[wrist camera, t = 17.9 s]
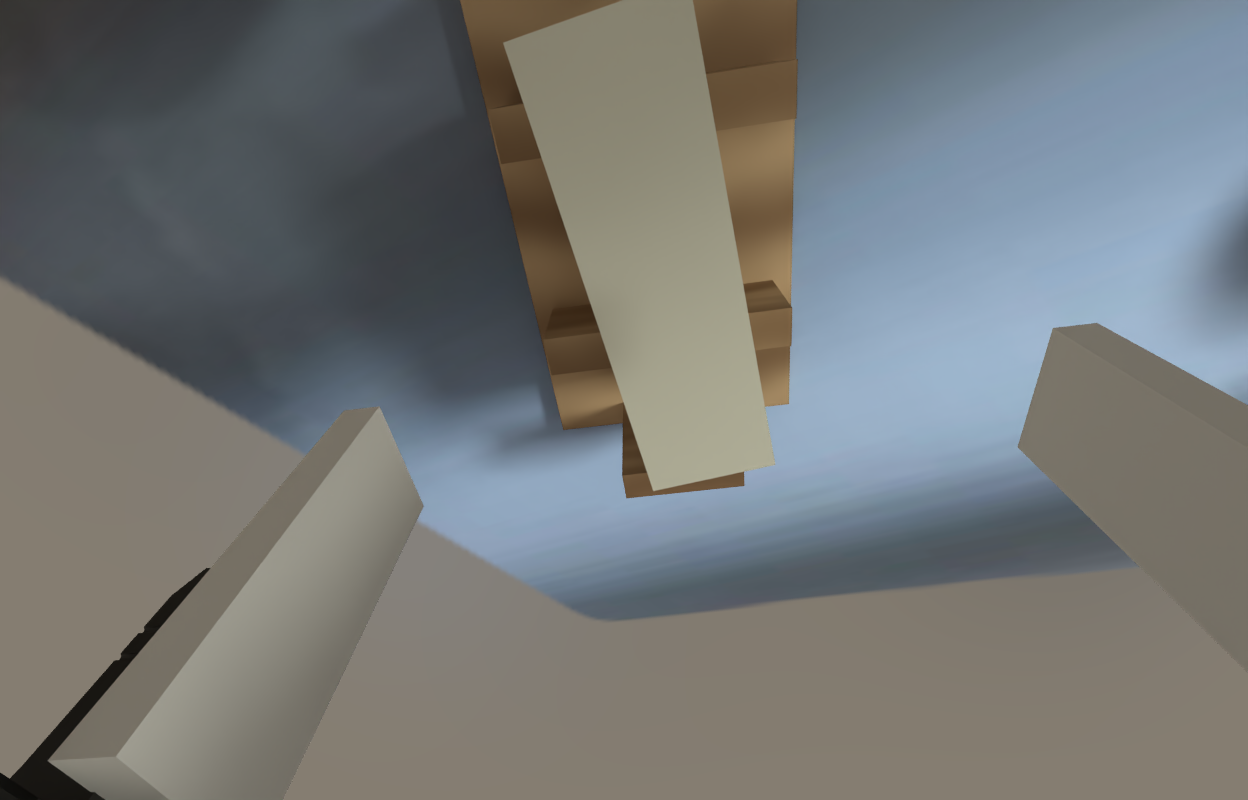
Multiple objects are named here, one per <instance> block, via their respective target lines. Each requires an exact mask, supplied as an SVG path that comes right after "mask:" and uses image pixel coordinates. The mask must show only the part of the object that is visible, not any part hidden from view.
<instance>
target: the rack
mask: <svg viewBox="0 0 1248 800" xmlns="http://www.w3.org/2000/svg"><path fill="white" fill-rule="evenodd" d="M619 1H622V0H460V2H461V6H462V10H463V14H464V19H465V23H466V27H467V31H468V35H469V39H470V44H471V48H472V52H473V56H474V60H475V64H476V69H477V73H478V77H479V81H480V85H481V89H482V93H483V98H484V102H485V106H486V110H487V114H488V118H489V123H490V127H491V131H492V135H493V139H494V143H495V147H496V152H497V156H498V160H499V164H500V168H501V172H502V177H503V181H504V185H505V189H506V193H507V197H508V201H509V206H510V210H511V214H512V218H513V222H514V226H515V231H516V235H517V239H518V243H519V247H520V251H521V255H522V260H523V264H524V268H525V272H526V276H527V280H528V285H529V289H530V293H531V297H532V301H533V305H534V309H535V314H536V318H537V322H538V326H539V330H540V334H541V339H542V343H543V347H544V351H545V355H546V359H547V364H548V368H549V372H550V376H551V380H552V384H553V388H554V393H555V397H556V401H557V405H558V409H559V413H560V418H561V422H562V426H563V430H567V429H576V428H585V427H593V426H602V425H610V424H619V423H623V464H622V476H623V482H624V487H625V493H626V498H634V497H643V496H653V495H662V494H672V493H681V492H691V491H700V490H710V489H719V488H729V487H738V486H744V472H740V473H735V474H730V475H726V476H721V477H716V478H712V479H707V480H703V481H698V482H693V483H689V484H684V485H679V486H675V487H670V488H665V489H661V490H656V491H653V488H652V486H651V483H650V480H649V477H648V474H647V471H646V468H645V465H644V462H643V459H642V456H641V453H640V450H639V447H638V444H637V441H636V438H635V435H634V432H633V429H632V426H631V423H630V420H629V417H628V414H627V411H626V408H625V405H624V402H623V399H622V396H621V393H620V390H619V387H618V384H617V381H616V378H615V375H614V372H613V369H612V366H611V363H610V360H609V357H608V354H607V351H606V348H605V345H604V342H603V339H602V336H601V333H600V330H599V327H598V325H597V322H596V319H595V316H594V313H593V310H592V307H591V304H590V301H589V298H588V295H587V292H586V289H585V286H584V283H583V280H582V277H581V274H580V271H579V268H578V265H577V262H576V259H575V256H574V253H573V250H572V247H571V244H570V241H569V238H568V235H567V232H566V229H565V226H564V223H563V220H562V217H561V214H560V211H559V208H558V205H557V202H556V199H555V196H554V193H553V190H552V187H551V184H550V181H549V178H548V175H547V172H546V169H545V166H544V164H543V161H542V158H541V155H540V152H539V149H538V146H537V143H536V140H535V137H534V134H533V131H532V128H531V125H530V122H529V119H528V116H527V113H526V110H525V107H524V104H523V101H522V98H521V95H520V92H519V89H518V86H517V83H516V80H515V77H514V74H513V71H512V68H511V65H510V62H509V59H508V56H507V53H506V50H505V47H504V44H503V43H504V42H506V41H509V40H512V39H515V38H518V37H521V36H523V35H526V34H529V33H532V32H535V31H537V30H540V29H543V28H546V27H549V26H552V25H554V24H557V23H560V22H563V21H566V20H568V19H571V18H574V17H577V16H580V15H583V14H585V13H588V12H591V11H594V10H597V9H599V8H602V7H605V6H608V5H611V4H613V3H616V2H619ZM693 4H694V10H695V16H696V21H697V27H698V33H699V38H700V44H701V50H702V55H703V61H704V66H705V72H706V78H707V83H708V89H709V95H710V100H711V106H712V112H713V117H714V123H715V128H716V134H717V140H718V145H719V151H720V157H721V162H722V168H723V174H724V179H725V185H726V190H727V196H728V202H729V207H730V213H731V219H732V224H733V230H734V236H735V241H736V247H737V252H738V258H739V264H740V269H741V275H742V281H743V286H744V292H745V298H746V303H747V309H748V314H749V320H750V326H751V331H752V337H753V343H754V348H755V354H756V359H757V365H758V371H759V376H760V382H761V388H762V393H763V399H764V405H765V407H766V406H775V405H783V404H789V370H790V346H791V339H792V307H791V272H792V223H793V174H794V125H795V119H796V110H797V64H798V59H796V27H797V0H693Z"/></svg>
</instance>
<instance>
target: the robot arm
mask: <svg viewBox="0 0 1248 800" xmlns="http://www.w3.org/2000/svg"><path fill="white" fill-rule="evenodd" d="M1018 448H1019V449H1020V450H1021V451H1022V452H1023V453H1024V454H1025V455H1026V456H1027V457H1028V458H1029V459H1030V460H1031V461H1032V462H1033V463H1034V464H1035V465H1036V466H1037V467H1038V468H1039V469H1040V470H1041V471H1042V472H1044V473H1045V474H1046V475H1047V476H1048V477H1049V478H1050V479H1051V480H1052V481H1053V482H1054V483H1055V484H1056V485H1057V486H1058V487H1059V488H1060V489H1061V490H1062V491H1063V492H1064V493H1065V494H1066V495H1067V496H1068V497H1069V498H1070V499H1071V500H1072V501H1073V502H1074V503H1075V504H1076V505H1077V506H1078V507H1079V508H1080V509H1081V510H1082V511H1083V512H1084V513H1085V514H1086V515H1087V516H1088V517H1089V518H1090V519H1091V520H1092V521H1093V522H1094V523H1096V524H1097V525H1098V526H1099V527H1100V528H1101V529H1102V530H1103V531H1104V532H1105V533H1106V534H1107V535H1108V536H1109V537H1110V538H1111V539H1112V540H1113V541H1114V542H1115V543H1116V544H1117V545H1118V546H1119V547H1120V548H1121V549H1122V550H1123V551H1124V552H1125V553H1126V554H1127V555H1128V556H1129V557H1130V558H1131V559H1132V560H1133V561H1134V562H1135V563H1136V564H1137V565H1138V566H1139V567H1140V568H1141V569H1142V570H1143V571H1144V572H1145V573H1147V574H1148V575H1149V576H1150V577H1151V578H1152V579H1153V580H1154V581H1155V582H1156V583H1157V584H1158V585H1159V586H1160V587H1161V588H1162V589H1163V590H1164V591H1165V592H1166V593H1167V594H1168V595H1169V596H1170V597H1171V598H1172V599H1173V600H1174V601H1175V602H1176V603H1177V604H1178V605H1179V606H1180V607H1181V608H1182V609H1183V610H1184V611H1185V612H1186V613H1187V614H1188V615H1189V616H1190V617H1191V618H1192V619H1194V620H1195V622H1197V624H1199V626H1201V627H1202V628H1203V629H1204V630H1205V631H1206V632H1207V633H1208V634H1209V635H1210V636H1211V637H1212V638H1213V639H1214V640H1215V641H1216V642H1217V643H1218V644H1219V645H1220V646H1221V647H1222V648H1223V649H1224V650H1225V651H1226V652H1227V653H1228V654H1229V655H1230V656H1231V657H1232V658H1233V659H1234V660H1235V661H1236V662H1237V663H1238V664H1239V665H1240V666H1241V667H1242V668H1244V670H1245V671H1246V672H1247V673H1248V405H1246V404H1244V403H1243V402H1241V401H1239V400H1237V399H1235V398H1233V397H1232V396H1230V395H1228V394H1226V393H1224V392H1222V391H1221V390H1219V389H1217V388H1215V387H1213V386H1211V385H1210V384H1208V383H1206V382H1204V381H1202V380H1200V379H1199V378H1197V377H1195V376H1193V375H1191V374H1189V373H1188V372H1186V371H1184V370H1182V369H1180V368H1178V367H1177V366H1175V365H1173V364H1171V363H1169V362H1167V361H1166V360H1164V359H1162V358H1160V357H1158V356H1156V355H1155V354H1153V353H1151V352H1149V351H1147V350H1145V349H1144V348H1142V347H1140V346H1138V345H1136V344H1134V343H1133V342H1131V341H1129V340H1127V339H1125V338H1123V337H1122V336H1120V335H1118V334H1116V333H1114V332H1112V331H1111V330H1109V329H1107V328H1105V327H1103V326H1101V325H1100V324H1098V323H1093V324H1084V325H1076V326H1067V327H1059V328H1053V330H1052V333H1051V336H1050V340H1049V343H1048V347H1047V350H1046V353H1045V357H1044V360H1043V363H1042V367H1041V370H1040V374H1039V377H1038V380H1037V384H1036V387H1035V390H1034V394H1033V397H1032V400H1031V404H1030V407H1029V411H1028V414H1027V417H1026V421H1025V424H1024V427H1023V431H1022V434H1021V438H1020V441H1019V444H1018ZM422 508H423V503H422V501H421V499H420V497H419V494H418V492H417V490H416V488H415V485H414V483H413V481H412V479H411V476H410V474H409V472H408V470H407V467H406V465H405V463H404V461H403V458H402V456H401V454H400V452H399V450H398V447H397V445H396V443H395V441H394V438H393V436H392V434H391V432H390V429H389V427H388V425H387V423H386V420H385V418H384V416H383V414H382V411H381V409H380V407H371V408H362V409H354V410H345V411H343V413H342V414H341V415H340V416H339V417H338V419H337V420H336V421H335V422H334V423H333V424H332V426H331V427H330V428H329V429H328V430H327V431H326V433H325V434H324V435H323V436H322V437H321V439H320V440H319V441H318V442H317V443H316V444H315V446H314V447H313V448H312V449H311V450H310V452H309V453H308V454H307V455H306V456H305V457H304V459H303V460H302V461H301V462H300V463H299V465H298V466H297V467H296V468H295V469H294V470H293V472H292V473H291V474H290V475H289V476H288V478H287V479H286V480H285V481H284V482H283V483H282V485H281V486H280V487H279V488H278V489H277V491H276V492H275V493H274V494H273V495H272V497H271V498H270V499H269V500H268V501H267V502H266V504H265V505H264V506H263V507H262V508H261V509H260V511H259V512H258V513H257V514H256V515H255V517H254V518H253V519H252V520H251V521H250V522H249V524H248V525H247V526H246V527H245V528H244V529H243V531H242V532H241V533H240V534H239V535H238V537H237V538H236V539H235V540H234V542H232V544H231V545H230V546H229V547H228V548H227V550H226V551H225V552H224V553H223V554H222V555H221V557H220V558H219V559H218V560H217V561H216V563H215V564H214V565H213V566H212V567H211V568H206V569H205V570H203V571H202V572H201V573H200V574H198V575H197V576H196V577H195V578H193V579H192V580H191V581H189V582H188V583H187V584H186V585H184V586H183V587H182V588H181V589H179V590H178V591H177V592H176V593H174V594H173V595H172V596H171V597H170V598H169V599H168V600H167V601H166V602H165V604H164V605H163V606H162V607H161V608H160V609H159V611H158V612H157V613H156V614H155V615H154V616H153V617H152V618H151V620H150V621H149V622H148V623H147V624H146V625H145V626H144V629H145V630H144V632H143V633H138V634H137V636H136V637H135V638H134V639H133V640H132V641H131V642H130V643H129V645H128V646H127V647H126V648H125V649H124V650H123V651H122V653H121V658H120V660H116V661H114V662H113V663H112V664H111V665H110V666H109V668H108V669H107V670H106V671H105V672H104V673H103V674H102V675H101V677H100V678H99V679H98V680H97V681H96V682H95V683H94V685H93V686H92V687H91V688H90V689H89V690H88V691H87V693H86V694H85V695H84V696H83V697H82V698H81V699H80V700H79V702H78V703H77V704H76V705H75V707H73V708H72V710H71V711H70V712H69V713H68V714H67V715H66V716H65V718H64V719H63V720H62V721H61V722H60V723H59V724H58V726H57V727H56V728H55V729H54V730H53V731H52V732H51V734H50V735H49V736H48V737H47V738H46V739H45V740H44V742H43V743H42V744H41V745H40V746H39V747H38V748H37V749H36V751H35V752H34V753H33V754H32V755H31V756H30V757H29V759H28V760H27V761H26V762H25V763H24V764H23V765H22V767H21V768H20V769H19V770H18V771H17V772H16V773H15V774H14V775H13V776H12V777H11V778H10V779H9V778H7V777H6V776H5V775H3V774H1V773H0V800H283V798H284V796H285V794H286V792H287V790H288V788H289V786H290V784H291V781H292V779H293V777H294V775H295V773H296V771H297V769H298V767H299V765H300V763H301V761H302V759H303V757H304V754H305V752H306V750H307V748H308V746H309V744H310V742H311V740H312V738H313V736H314V734H315V731H316V729H317V727H318V725H319V723H320V721H321V719H322V717H323V715H324V713H325V711H326V709H327V706H328V704H329V702H330V700H331V698H332V696H333V694H334V692H335V690H336V688H337V686H338V684H339V682H340V679H341V677H342V675H343V673H344V671H345V669H346V667H347V665H348V663H349V661H350V659H351V656H352V654H353V652H354V650H355V648H356V646H357V644H358V642H359V640H360V638H361V636H362V634H363V631H364V629H365V627H366V625H367V623H368V621H369V619H370V617H371V615H372V613H373V611H374V609H375V606H376V604H377V602H378V600H379V598H380V596H381V594H382V592H383V590H384V588H385V586H386V584H387V581H388V579H389V577H390V575H391V573H392V571H393V569H394V567H395V564H396V563H397V560H398V558H399V556H400V554H401V552H402V550H403V548H404V546H405V544H406V542H407V540H408V538H409V536H410V533H411V531H412V529H413V527H414V525H415V523H416V521H417V519H418V517H419V515H420V513H421V511H422Z"/></svg>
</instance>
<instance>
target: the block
mask: <svg viewBox="0 0 1248 800" xmlns="http://www.w3.org/2000/svg"><path fill="white" fill-rule="evenodd" d="M503 44H504V47H505V50H506V53H507V56H508V59H509V62H510V65H511V68H512V71H513V74H514V77H515V80H516V83H517V86H518V89H519V92H520V95H521V98H522V101H523V104H524V107H525V110H526V113H527V116H528V119H529V122H530V125H531V128H532V131H533V134H534V137H535V140H536V143H537V146H538V149H539V152H540V155H541V158H542V161H543V164H544V166H545V169H546V172H547V175H548V178H549V181H550V184H551V187H552V190H553V193H554V196H555V199H556V202H557V205H558V208H559V211H560V214H561V217H562V220H563V223H564V226H565V229H566V232H567V235H568V238H569V241H570V244H571V247H572V250H573V253H574V256H575V259H576V262H577V265H578V268H579V271H580V274H581V277H582V280H583V283H584V286H585V289H586V292H587V295H588V298H589V301H590V304H591V307H592V310H593V313H594V316H595V319H596V322H597V325H598V327H599V330H600V333H601V336H602V339H603V342H604V345H605V348H606V351H607V354H608V357H609V360H610V363H611V366H612V369H613V372H614V375H615V378H616V381H617V384H618V387H619V390H620V393H621V396H622V399H623V402H624V405H625V408H626V411H627V414H628V417H629V420H630V423H631V426H632V429H633V432H634V435H635V438H636V441H637V444H638V447H639V450H640V453H641V456H642V459H643V462H644V465H645V468H646V471H647V474H648V477H649V480H650V483H651V486H652V488H653V491H656V490H661V489H665V488H670V487H675V486H679V485H684V484H689V483H693V482H698V481H703V480H707V479H712V478H716V477H721V476H726V475H730V474H735V473H740V472H744V471H749V470H754V469H758V468H763V467H767V466H772V465H775V461H774V455H773V450H772V444H771V438H770V433H769V427H768V421H767V416H766V410H765V405H764V399H763V393H762V388H761V382H760V376H759V371H758V365H757V359H756V354H755V348H754V343H753V337H752V331H751V326H750V320H749V314H748V309H747V303H746V298H745V292H744V286H743V281H742V275H741V269H740V264H739V258H738V252H737V247H736V241H735V236H734V230H733V224H732V219H731V213H730V207H729V202H728V196H727V190H726V185H725V179H724V174H723V168H722V162H721V157H720V151H719V145H718V140H717V134H716V128H715V123H714V117H713V112H712V106H711V100H710V95H709V89H708V83H707V78H706V72H705V66H704V61H703V55H702V50H701V44H700V38H699V33H698V27H697V21H696V16H695V10H694V4H693V0H622V1H619V2H616V3H613V4H611V5H608V6H605V7H602V8H599V9H597V10H594V11H591V12H588V13H585V14H583V15H580V16H577V17H574V18H571V19H568V20H566V21H563V22H560V23H557V24H554V25H552V26H549V27H546V28H543V29H540V30H537V31H535V32H532V33H529V34H526V35H523V36H521V37H518V38H515V39H512V40H509V41H506V42H504V43H503Z"/></svg>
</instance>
